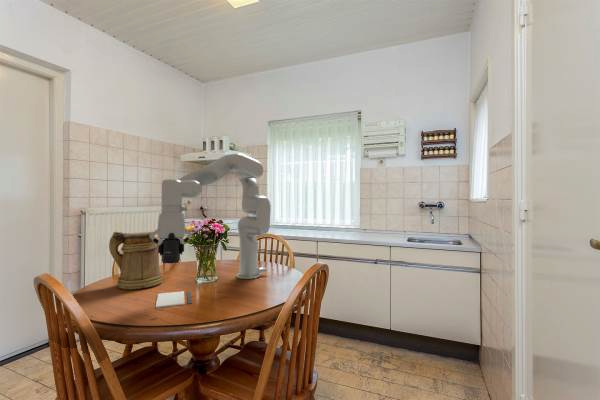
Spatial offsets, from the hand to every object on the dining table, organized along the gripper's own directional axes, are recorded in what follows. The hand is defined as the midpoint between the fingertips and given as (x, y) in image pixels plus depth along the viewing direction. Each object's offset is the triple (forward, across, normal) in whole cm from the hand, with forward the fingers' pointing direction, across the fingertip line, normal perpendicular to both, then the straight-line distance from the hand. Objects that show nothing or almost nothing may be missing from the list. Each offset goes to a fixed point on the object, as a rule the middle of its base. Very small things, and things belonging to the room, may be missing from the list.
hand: (171, 254), depth 119 cm
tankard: (+19, +16, -28) cm, 37 cm away
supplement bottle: (+3, 0, 0) cm, 3 cm away
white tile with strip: (+18, -1, 0) cm, 18 cm away
